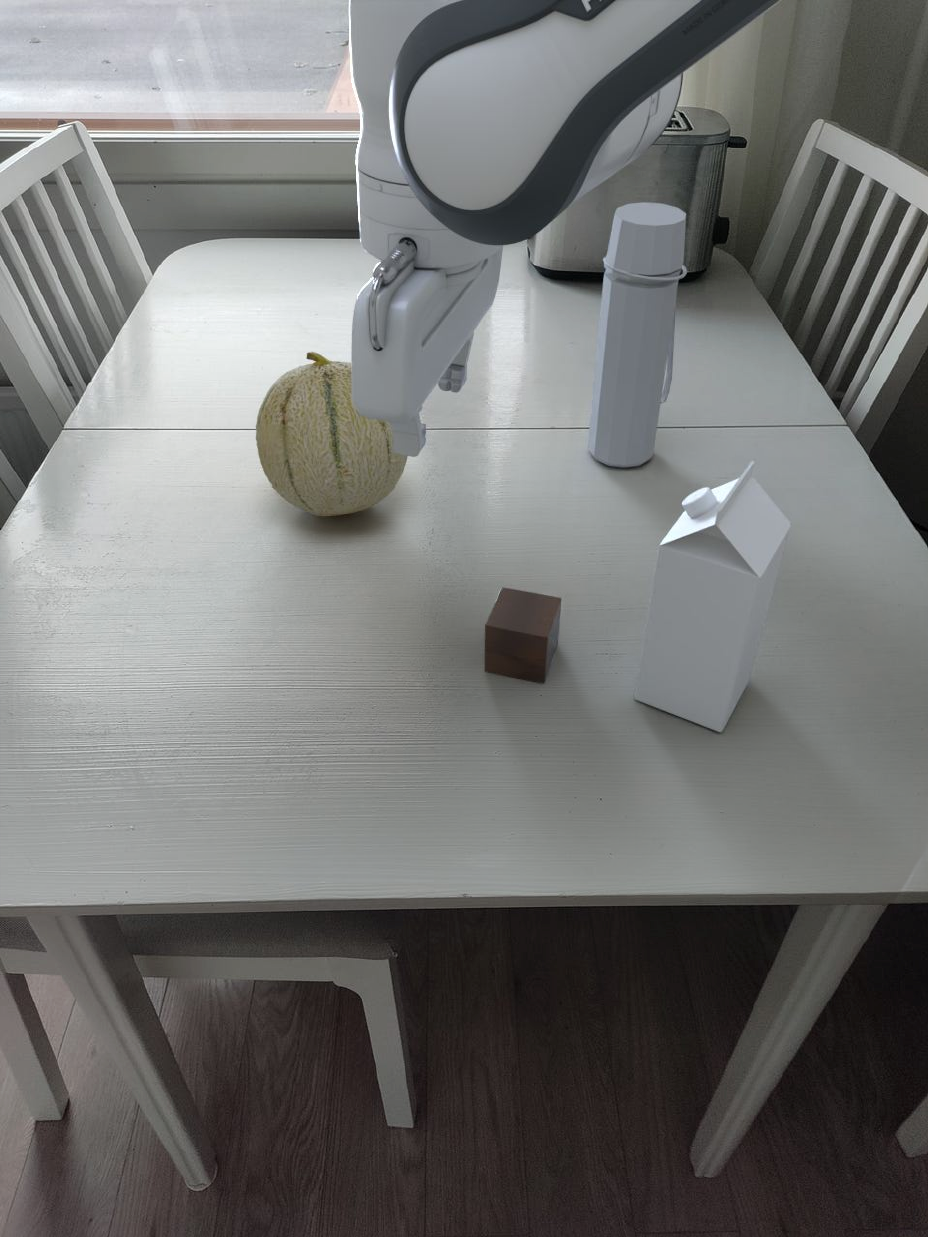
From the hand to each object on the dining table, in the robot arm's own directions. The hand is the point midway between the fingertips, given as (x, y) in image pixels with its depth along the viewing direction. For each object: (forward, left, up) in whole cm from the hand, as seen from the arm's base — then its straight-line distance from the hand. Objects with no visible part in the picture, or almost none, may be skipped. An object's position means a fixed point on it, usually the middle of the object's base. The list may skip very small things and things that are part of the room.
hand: (432, 417), depth 67 cm
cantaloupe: (+16, -16, -21) cm, 31 cm away
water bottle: (-10, -34, -21) cm, 41 cm away
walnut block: (-7, +1, -21) cm, 22 cm away
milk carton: (-21, +1, -21) cm, 30 cm away
